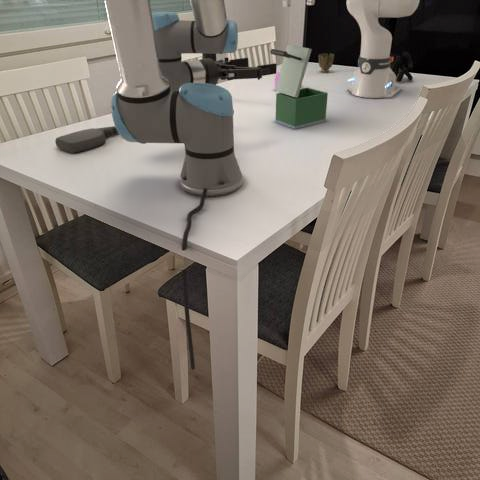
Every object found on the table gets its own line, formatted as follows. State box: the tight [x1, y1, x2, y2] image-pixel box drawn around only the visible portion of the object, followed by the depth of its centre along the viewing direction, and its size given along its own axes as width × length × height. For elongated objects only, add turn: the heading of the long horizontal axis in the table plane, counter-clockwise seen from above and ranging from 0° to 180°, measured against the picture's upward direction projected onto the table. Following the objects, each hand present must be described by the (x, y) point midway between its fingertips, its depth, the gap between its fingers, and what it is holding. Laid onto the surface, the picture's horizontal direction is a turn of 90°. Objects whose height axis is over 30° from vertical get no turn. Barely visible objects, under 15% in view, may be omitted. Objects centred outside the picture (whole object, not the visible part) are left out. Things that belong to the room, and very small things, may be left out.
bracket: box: [274, 71, 280, 90], centre depth 190 cm, size 13×6×7 cm, turn 143°
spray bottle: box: [54, 125, 119, 154], centre depth 138 cm, size 3×11×24 cm
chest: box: [274, 87, 329, 130], centre depth 149 cm, size 14×10×9 cm
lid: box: [269, 44, 313, 98], centre depth 138 cm, size 14×10×9 cm
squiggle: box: [390, 51, 414, 83], centre depth 198 cm, size 11×10×15 cm
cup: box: [318, 52, 335, 73], centre depth 215 cm, size 8×7×8 cm
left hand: (261, 65), depth 133 cm, fingers open, 13 cm apart
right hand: (298, 6), depth 132 cm, fingers open, 8 cm apart
